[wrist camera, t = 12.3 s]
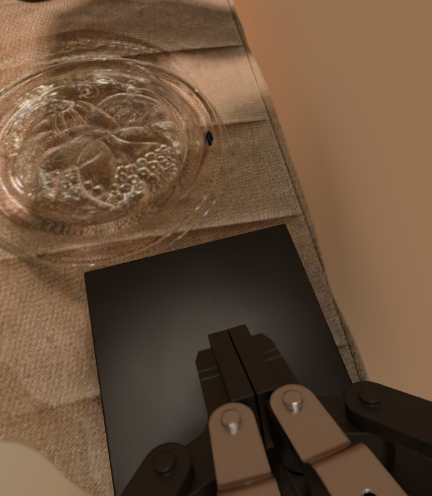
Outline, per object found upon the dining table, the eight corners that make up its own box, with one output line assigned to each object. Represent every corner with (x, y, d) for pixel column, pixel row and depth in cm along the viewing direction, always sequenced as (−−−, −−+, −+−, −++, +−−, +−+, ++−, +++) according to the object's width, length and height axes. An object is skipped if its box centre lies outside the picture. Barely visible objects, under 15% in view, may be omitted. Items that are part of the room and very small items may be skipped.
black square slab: (87, 276, 21) (83, 272, 21) (283, 228, 23) (285, 222, 22) (129, 575, 15) (125, 583, 15) (386, 480, 17) (394, 482, 17)
